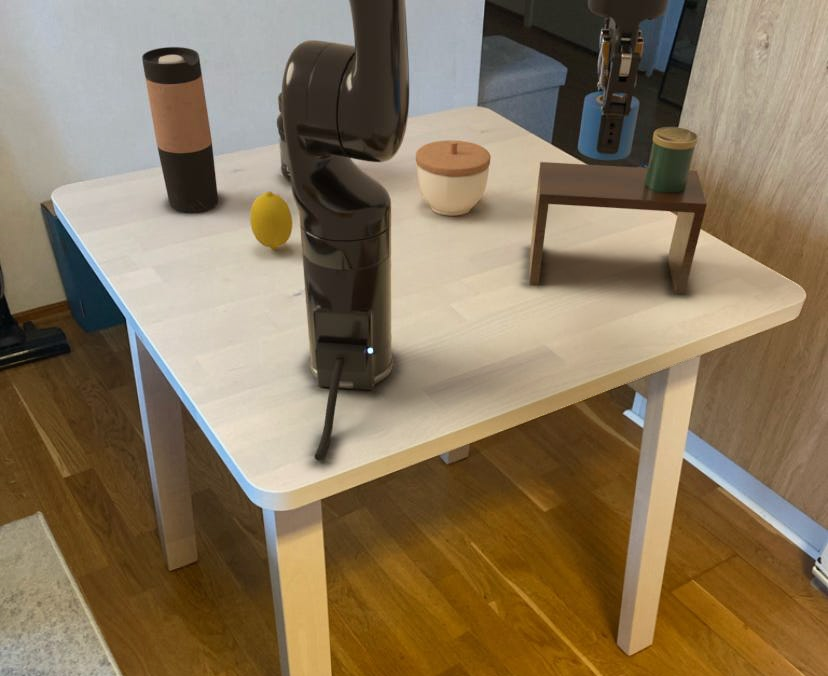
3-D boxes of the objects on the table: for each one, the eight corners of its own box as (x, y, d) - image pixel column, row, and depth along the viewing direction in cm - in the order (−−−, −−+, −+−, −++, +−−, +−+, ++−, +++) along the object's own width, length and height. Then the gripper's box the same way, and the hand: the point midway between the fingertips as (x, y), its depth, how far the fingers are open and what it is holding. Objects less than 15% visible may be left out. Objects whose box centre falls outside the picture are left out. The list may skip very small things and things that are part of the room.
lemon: (287, 261, 120) (282, 202, 114) (248, 256, 121) (241, 198, 115) (299, 242, 124) (295, 185, 118) (261, 238, 125) (255, 181, 119)
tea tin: (688, 194, 109) (700, 144, 104) (645, 192, 109) (655, 141, 105) (684, 177, 112) (695, 127, 108) (642, 175, 113) (652, 125, 108)
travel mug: (163, 196, 134) (136, 49, 120) (213, 189, 136) (193, 44, 122) (173, 217, 129) (146, 66, 115) (225, 209, 131) (205, 60, 117)
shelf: (684, 294, 115) (707, 203, 107) (529, 284, 116) (539, 193, 108) (676, 258, 122) (697, 170, 114) (530, 249, 124) (540, 161, 115)
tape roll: (632, 161, 93) (641, 110, 89) (578, 158, 93) (585, 107, 90) (628, 141, 97) (637, 91, 93) (576, 138, 97) (583, 88, 94)
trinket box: (490, 195, 136) (495, 131, 129) (482, 226, 129) (486, 160, 122) (421, 189, 137) (422, 125, 131) (408, 219, 130) (409, 153, 123)
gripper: (591, -65, 88) (568, 114, 100) (598, -29, 78) (571, 166, 90) (668, -62, 88) (635, 118, 99) (685, -25, 77) (646, 170, 89)
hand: (605, 140), depth 94 cm, fingers closed on tape roll, 5 cm apart
